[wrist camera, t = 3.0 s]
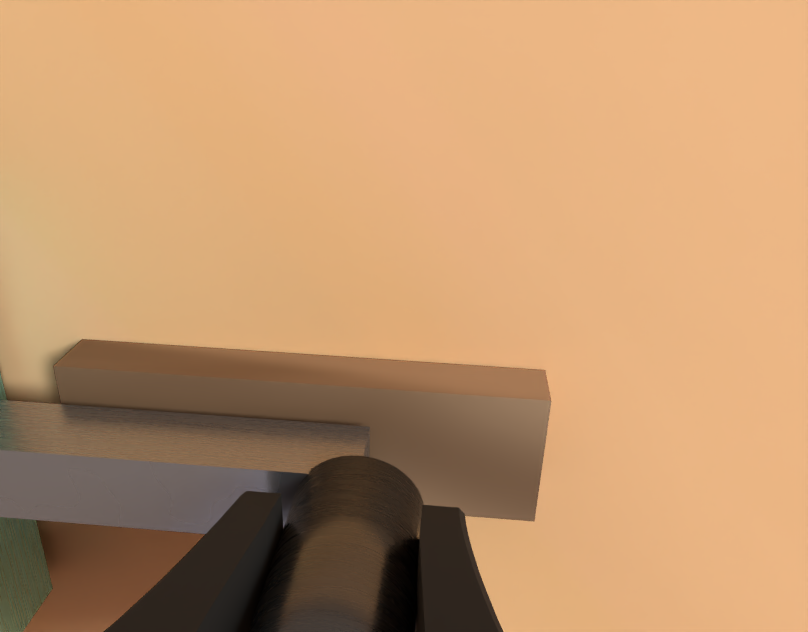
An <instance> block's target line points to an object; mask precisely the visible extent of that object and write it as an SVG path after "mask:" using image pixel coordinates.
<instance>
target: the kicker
mask: <svg viewBox="0 0 808 632" xmlns="http://www.w3.org/2000/svg"><path fill="white" fill-rule="evenodd" d="M369 452H370V427H368V426H354V425H340V424H327V423H313V422H299V421H285V420H272V419H258V418H244V417H230V416H216V415H203V414H189V413H175V412H161V411H148V410H134V409H120V408H106V407H93V406H79V405H65V404H51V403H37V402H24V401H10V400H7V398H6V394H5V390H4V386H3V382H2V378H1V374H0V632H23V631H24V629H25V628H26V626H27V625H28V623H29V622H30V621H31V619H32V618H33V616H34V615H35V613H36V612H37V610H38V609H39V607H40V606H41V605H42V603H43V602H44V600H45V599H46V597H47V596H48V594H49V593H50V591H51V590H52V589H53V588H52V583H51V579H50V575H49V571H48V567H47V563H46V559H45V555H44V550H43V546H42V542H41V538H40V534H39V530H38V526H37V522H36V520H42V521H54V522H66V523H78V524H90V525H102V526H114V527H126V528H139V529H151V530H163V531H175V532H187V533H199V534H206V533H207V532H208V531H209V530H210V529H211V528H212V527H213V526H214V525H215V523H216V522H217V521H218V520H219V519H220V518H221V517H222V516H223V515H224V514H225V512H226V511H227V510H228V509H229V508H230V507H231V506H232V505H233V503H234V502H235V501H236V500H237V499H238V498H239V497H240V496H241V495H242V494H243V493H244V492H246V491H256V492H269V493H281V496H282V515H283V531H282V534H281V537H280V540H279V543H278V546H277V549H276V552H275V555H274V558H273V561H272V564H271V567H270V570H269V573H268V576H267V578H266V581H265V584H264V587H263V590H262V593H261V596H260V599H259V602H258V605H257V608H256V611H255V614H254V617H253V620H252V623H251V626H250V629H249V632H415V626H416V614H417V572H418V553H419V535H420V524H421V515H422V505H424V503H423V499H422V497H421V494H420V492H419V490H418V488H417V487H416V485H415V484H414V483H413V481H412V480H411V479H410V478H409V477H408V476H407V475H406V474H404V473H403V472H402V471H401V470H399V469H398V468H396V467H395V466H393V465H391V464H389V463H387V462H384V461H382V460H379V459H375V458H371V457H369Z"/></svg>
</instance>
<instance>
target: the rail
mask: <svg viewBox="0 0 808 632" xmlns="http://www.w3.org/2000/svg"><path fill="white" fill-rule="evenodd" d="M53 367H54V372H55V377H56V381H57V386H58V391H59V396H60V401H61V404H65V405H79V406H93V407H106V408H120V409H134V410H148V411H161V412H175V413H189V414H203V415H216V416H230V417H244V418H258V419H272V420H285V421H299V422H313V423H327V424H340V425H354V426H368V427H370V452H369V457H371V458H375V459H379V460H382V461H384V462H387V463H389V464H391V465H393V466H395V467H396V468H398V469H399V470H401V471H402V472H403V473H404V474H406V475H407V476H408V477H409V478H410V479H411V480H412V481H413V483H414V484H415V485H416V487H417V488H418V490H419V492H420V494H421V497H422V499H423V503H424V505H433V506H446V507H459V508H460V509H461V510H462V511H463V512H464V514H465V516H473V517H486V518H498V519H511V520H523V521H534V520H535V513H536V506H537V499H538V491H539V484H540V477H541V470H542V463H543V456H544V449H545V442H546V435H547V427H548V420H549V413H550V406H551V397H550V392H549V387H548V382H547V377H546V372H545V370H532V369H518V368H503V367H488V366H473V365H458V364H443V363H428V362H413V361H398V360H383V359H368V358H353V357H338V356H323V355H308V354H293V353H278V352H263V351H248V350H233V349H218V348H203V347H188V346H173V345H158V344H144V343H129V342H114V341H99V340H84V339H82V340H81V341H80V342H79V343H78V344H77V345H76V346H75V347H74V348H73V349H72V350H70V351H69V352H68V353H67V354H66V355H65V356H64V357H63V358H62V359H61V360H60V361H58V362H57V363H56V364H55V365H54V366H53Z"/></svg>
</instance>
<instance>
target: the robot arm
mask: <svg viewBox="0 0 808 632" xmlns="http://www.w3.org/2000/svg"><path fill="white" fill-rule="evenodd" d="M282 531H283V515H282V496H281V493H269V492H256V491H246V492H244V493H243V494H242V495H241V496H240V497H239V498H238V499H237V500H236V501H235V502H234V503H233V505H232V506H231V507H230V508H229V509H228V510H227V511H226V512H225V514H224V515H223V516H222V517H221V518H220V519H219V520H218V521H217V522H216V523H215V525H214V526H213V527H212V528H211V529H210V530H209V531H208V532H207V533H206V534H205V535H204V536H203V538H202V539H201V540H200V541H199V542H198V543H197V544H196V545H195V546H194V547H193V548H192V549H191V550H190V551H189V552H188V553H187V554H186V555H185V556H184V557H183V558H182V559H181V560H180V561H179V562H178V563H177V564H176V565H175V566H174V567H173V568H172V569H171V570H170V571H169V572H168V573H167V574H166V575H165V576H164V577H163V578H162V579H161V580H160V581H159V582H158V583H157V584H156V585H155V586H154V587H153V588H152V589H151V590H150V591H149V592H147V593H146V594H145V595H144V596H143V597H142V598H141V599H140V600H139V601H138V602H137V603H136V604H134V605H133V606H132V607H131V608H130V609H129V610H128V611H127V612H126V613H125V614H124V615H122V616H121V617H120V618H119V619H118V620H117V621H116V622H114V623H113V624H112V625H111V626H110V627H109V628H107V629H106V630H105V631H104V632H249V629H250V626H251V623H252V620H253V617H254V614H255V611H256V608H257V605H258V602H259V599H260V596H261V593H262V590H263V587H264V584H265V581H266V578H267V576H268V573H269V570H270V567H271V564H272V561H273V558H274V555H275V552H276V549H277V546H278V543H279V540H280V537H281V534H282ZM415 632H503V630H502V628H501V625H500V623H499V621H498V619H497V616H496V614H495V612H494V609H493V607H492V604H491V601H490V599H489V596H488V594H487V591H486V589H485V586H484V584H483V581H482V578H481V576H480V573H479V570H478V567H477V564H476V561H475V557H474V554H473V551H472V547H471V544H470V540H469V536H468V532H467V527H466V521H465V514H464V512H463V511H462V510H461V509H460V508H459V507H446V506H433V505H422V515H421V524H420V535H419V553H418V572H417V614H416V626H415Z"/></svg>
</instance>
